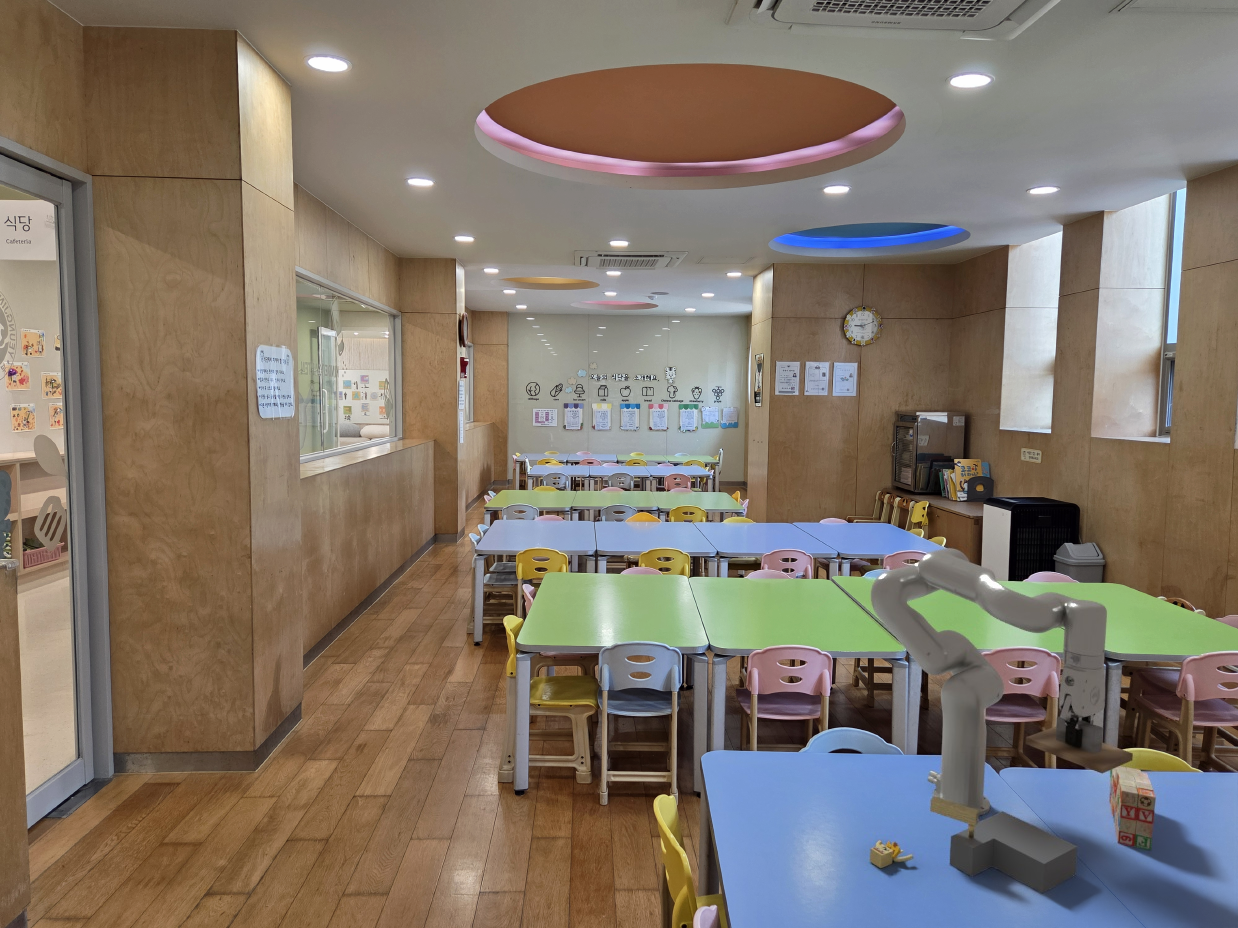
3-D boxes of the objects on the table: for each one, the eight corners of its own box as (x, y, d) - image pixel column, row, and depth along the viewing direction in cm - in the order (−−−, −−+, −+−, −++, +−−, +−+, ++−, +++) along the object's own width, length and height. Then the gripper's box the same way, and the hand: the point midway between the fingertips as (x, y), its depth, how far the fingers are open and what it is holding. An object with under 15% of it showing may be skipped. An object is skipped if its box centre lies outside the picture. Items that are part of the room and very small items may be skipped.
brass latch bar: (974, 840, 160) (976, 814, 160) (929, 824, 166) (930, 799, 165) (977, 836, 162) (978, 810, 161) (932, 820, 167) (933, 795, 167)
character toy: (915, 848, 162) (891, 859, 158) (915, 863, 163) (890, 874, 158) (883, 830, 169) (859, 840, 165) (883, 844, 169) (858, 855, 165)
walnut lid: (1025, 743, 172) (1027, 714, 171) (1056, 732, 178) (1057, 704, 178) (1102, 773, 158) (1104, 742, 158) (1132, 760, 165) (1134, 730, 164)
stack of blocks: (1108, 800, 191) (1111, 751, 190) (1139, 807, 188) (1142, 757, 187) (1117, 843, 172) (1121, 789, 171) (1152, 851, 169) (1156, 796, 168)
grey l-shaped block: (947, 862, 163) (948, 834, 163) (1001, 837, 173) (1002, 811, 173) (1021, 904, 150) (1023, 874, 149) (1075, 874, 160) (1077, 846, 159)
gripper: (1080, 670, 159) (1074, 758, 161) (1121, 658, 168) (1116, 741, 169) (1043, 660, 166) (1039, 744, 167) (1085, 648, 174) (1080, 729, 176)
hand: (1078, 742), depth 168 cm, fingers closed on walnut lid, 3 cm apart
